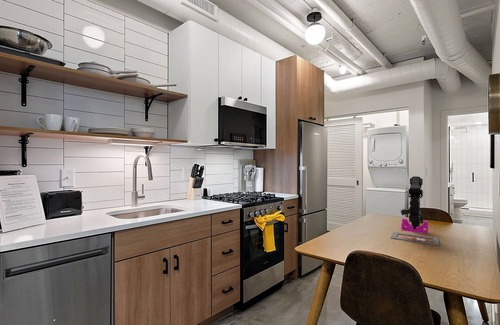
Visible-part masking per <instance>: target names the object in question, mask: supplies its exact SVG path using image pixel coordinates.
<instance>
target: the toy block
mask: <svg viewBox="0 0 500 325" xmlns="http://www.w3.org/2000/svg"><path fill="white" fill-rule="evenodd" d="M400 227H401V228H400V230H401V231H403V232H411V233H416V234H417V233H418V234H419V233H422V234H429V221H427V220H423V223H422V224H420V226H419V227H416V229H413V226H412V225H411V223H410V222H409V219H407V218H402V219H401V225H400Z"/></svg>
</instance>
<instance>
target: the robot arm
mask: <svg viewBox="0 0 500 325" xmlns="http://www.w3.org/2000/svg"><path fill="white" fill-rule="evenodd" d="M423 181H424V180H423V178H421V176H418V175H416V176H412V177H410V178H409V185H410V186H409V188H408V195H407V196H408V198H409V208H402V209H401V210H400V214H401V216H405V215H409V216H408V222H409V223H410V224H411V225H412V226H413V229H416V227H419V226H421V225H423V224H424V217H423V215H422V212H421V199H422V198H423V197H424V190H423V189H422V186H423V184H424V183H423Z"/></svg>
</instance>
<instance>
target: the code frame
mask: <svg viewBox="0 0 500 325" xmlns="http://www.w3.org/2000/svg"><path fill="white" fill-rule="evenodd" d="M398 235H401V236H402V235H403V236H404V237H398ZM414 237H415V239H414ZM390 239H391V240H397V241H398V240H399V241H404V242H405V241H406V242H412V243H417V244H418V243H419V244H424V245H430V246H438V247H440V241H439V240H440V239H439V238H438V237H431V236H426V235H419V234H414V233H413V234H412V233H404V232H397V231H392V234H391V236H390ZM426 239H428V240H432V242H430V241H426Z"/></svg>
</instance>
